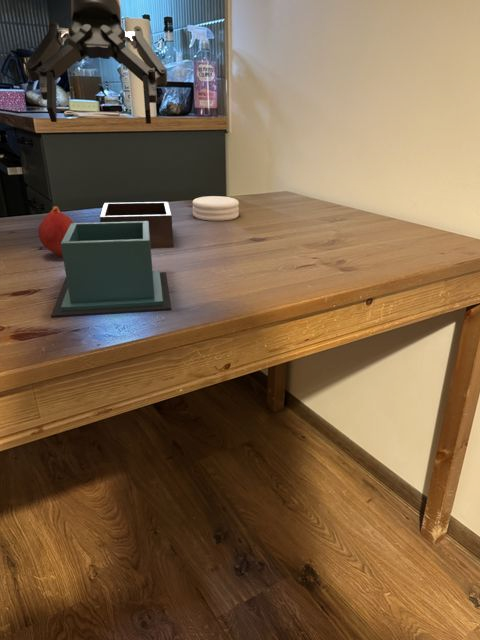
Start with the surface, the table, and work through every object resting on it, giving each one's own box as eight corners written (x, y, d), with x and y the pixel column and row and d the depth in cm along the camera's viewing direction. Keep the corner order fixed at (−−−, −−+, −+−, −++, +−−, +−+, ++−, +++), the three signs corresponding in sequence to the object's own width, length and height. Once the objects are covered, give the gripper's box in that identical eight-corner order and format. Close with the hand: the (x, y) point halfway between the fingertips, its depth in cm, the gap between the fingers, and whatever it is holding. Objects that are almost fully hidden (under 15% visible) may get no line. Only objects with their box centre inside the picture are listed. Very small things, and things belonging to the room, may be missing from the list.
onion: (35, 259, 78) (25, 207, 75) (60, 250, 83) (51, 201, 80) (65, 264, 77) (56, 211, 73) (89, 254, 82) (81, 204, 78)
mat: (66, 279, 71) (65, 276, 70) (166, 274, 74) (165, 271, 73) (51, 318, 59) (50, 315, 58) (171, 311, 61) (171, 308, 61)
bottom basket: (107, 233, 94) (103, 202, 91) (169, 231, 96) (168, 201, 93) (103, 250, 84) (99, 217, 81) (173, 248, 86) (171, 215, 83)
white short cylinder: (246, 219, 107) (247, 202, 105) (203, 223, 102) (203, 206, 101) (226, 210, 114) (226, 194, 113) (186, 213, 110) (185, 197, 108)
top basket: (73, 278, 70) (63, 221, 66) (159, 274, 72) (155, 219, 69) (61, 311, 59) (49, 246, 56) (163, 305, 62) (158, 242, 58)
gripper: (4, -22, 73) (0, 93, 67) (175, -10, 78) (186, 98, 72) (19, 25, 80) (17, 133, 74) (175, 33, 85) (185, 135, 79)
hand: (100, 116), depth 73 cm, fingers open, 13 cm apart
